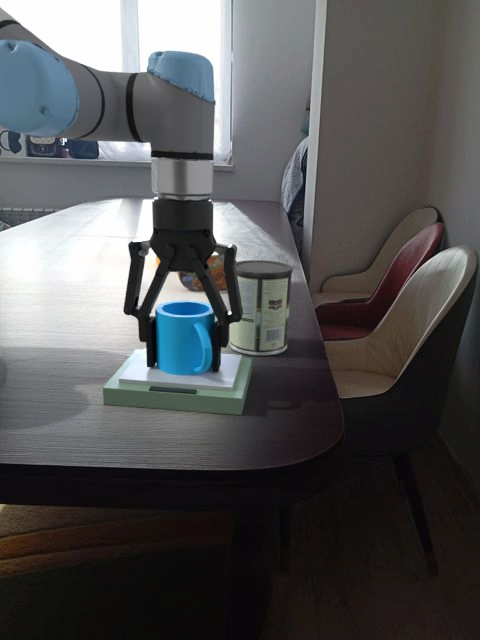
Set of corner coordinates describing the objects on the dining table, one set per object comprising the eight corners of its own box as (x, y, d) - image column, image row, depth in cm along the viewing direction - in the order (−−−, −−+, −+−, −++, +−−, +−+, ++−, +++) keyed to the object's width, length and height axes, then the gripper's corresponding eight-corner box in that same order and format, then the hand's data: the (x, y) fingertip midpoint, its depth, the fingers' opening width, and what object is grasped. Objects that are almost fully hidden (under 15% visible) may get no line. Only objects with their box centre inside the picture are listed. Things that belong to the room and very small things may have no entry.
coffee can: (250, 332, 97) (253, 257, 92) (297, 344, 91) (304, 266, 86) (216, 346, 88) (218, 265, 83) (266, 361, 83) (271, 275, 78)
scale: (103, 404, 66) (102, 383, 65) (136, 363, 80) (135, 345, 78) (241, 415, 66) (242, 394, 65) (251, 372, 79) (252, 354, 78)
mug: (148, 358, 74) (147, 303, 71) (201, 350, 78) (201, 298, 75) (179, 390, 64) (178, 329, 62) (236, 380, 68) (238, 321, 65)
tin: (179, 292, 121) (179, 256, 118) (176, 288, 124) (176, 254, 121) (239, 289, 127) (241, 255, 124) (235, 286, 129) (236, 252, 126)
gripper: (270, 199, 66) (261, 361, 74) (109, 190, 67) (118, 351, 75) (266, 204, 59) (257, 382, 67) (87, 194, 60) (99, 371, 68)
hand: (184, 365), depth 71 cm, fingers closed on mug, 8 cm apart
